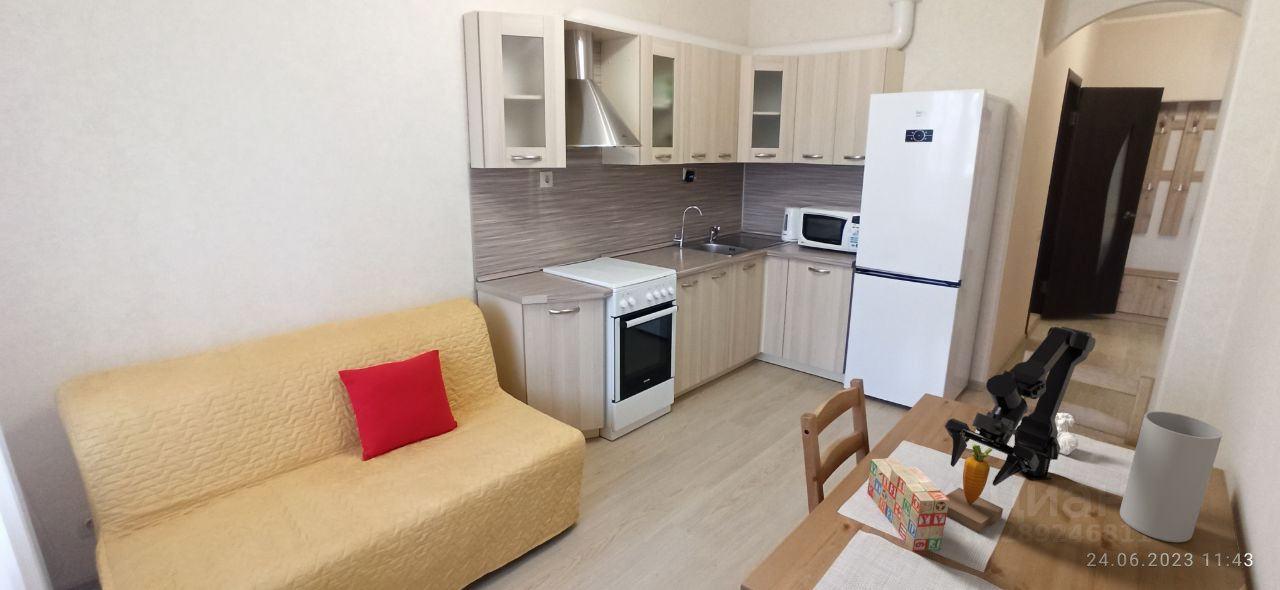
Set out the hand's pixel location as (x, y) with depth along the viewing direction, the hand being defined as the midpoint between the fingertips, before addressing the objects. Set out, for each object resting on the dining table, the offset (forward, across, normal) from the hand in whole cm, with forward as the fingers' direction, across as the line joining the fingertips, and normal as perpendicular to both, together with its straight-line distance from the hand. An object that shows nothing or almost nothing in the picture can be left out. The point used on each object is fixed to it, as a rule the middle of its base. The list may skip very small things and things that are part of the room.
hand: (972, 475), depth 133 cm
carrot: (+5, 0, +7) cm, 8 cm away
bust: (-30, -3, +46) cm, 55 cm away
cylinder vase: (-15, +26, +31) cm, 43 cm away
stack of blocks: (+17, -7, -2) cm, 19 cm away
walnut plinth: (+6, 0, +8) cm, 11 cm away
